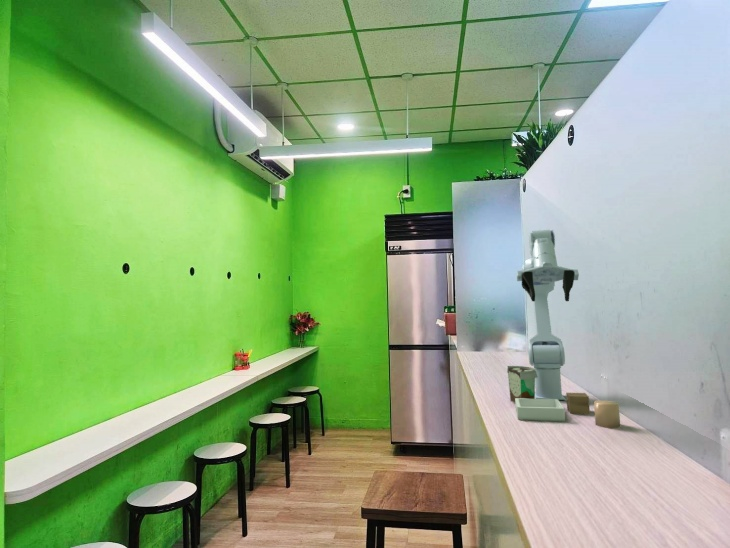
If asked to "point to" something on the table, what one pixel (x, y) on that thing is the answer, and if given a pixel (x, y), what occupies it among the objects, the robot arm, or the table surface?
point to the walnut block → (578, 403)
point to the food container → (521, 382)
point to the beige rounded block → (607, 414)
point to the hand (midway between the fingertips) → (550, 298)
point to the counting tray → (539, 409)
